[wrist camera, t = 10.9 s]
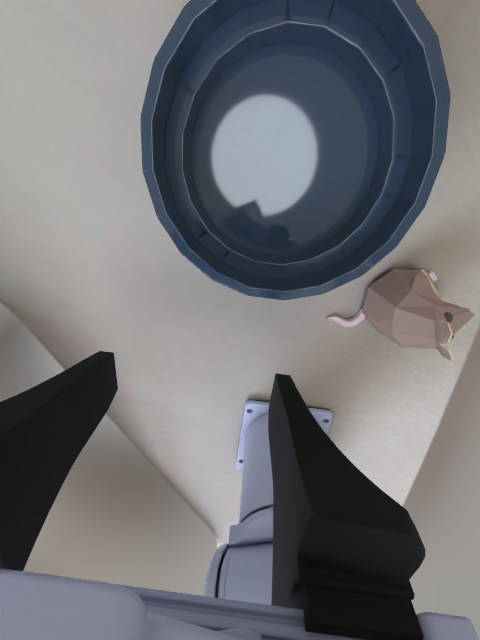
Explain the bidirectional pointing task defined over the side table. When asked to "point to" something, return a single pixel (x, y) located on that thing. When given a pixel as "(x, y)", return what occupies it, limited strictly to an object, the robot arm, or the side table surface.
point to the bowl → (293, 137)
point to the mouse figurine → (410, 311)
